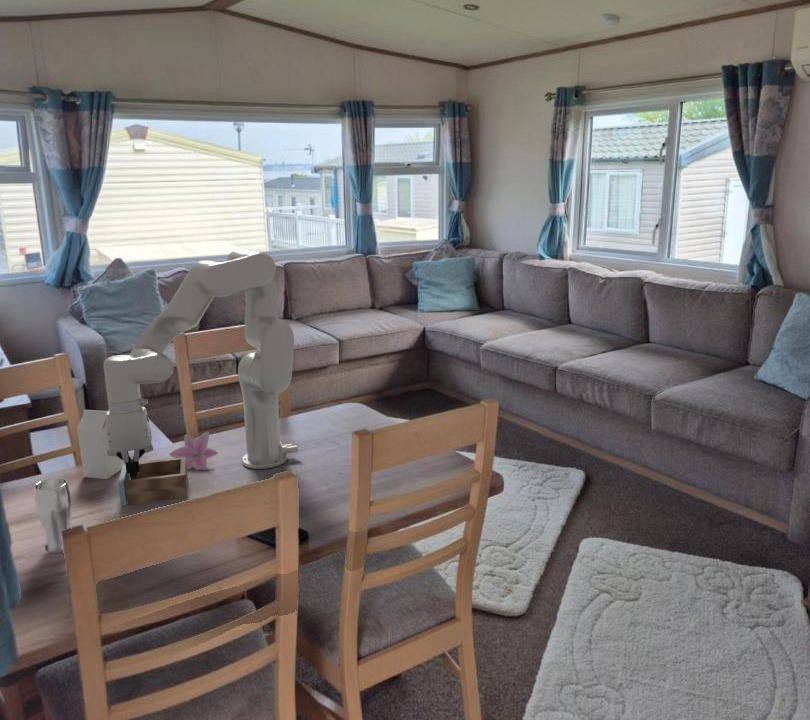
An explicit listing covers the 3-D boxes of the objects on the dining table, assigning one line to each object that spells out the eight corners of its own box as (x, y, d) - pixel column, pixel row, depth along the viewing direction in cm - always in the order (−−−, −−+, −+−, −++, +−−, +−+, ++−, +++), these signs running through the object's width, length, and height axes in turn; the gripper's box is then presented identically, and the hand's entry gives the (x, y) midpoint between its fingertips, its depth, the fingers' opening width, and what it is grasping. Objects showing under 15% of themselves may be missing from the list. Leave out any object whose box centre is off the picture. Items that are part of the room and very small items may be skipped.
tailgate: (130, 485, 180) (127, 463, 178) (126, 505, 169) (123, 482, 167) (125, 485, 180) (122, 464, 178) (121, 505, 169) (118, 483, 167)
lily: (167, 471, 194) (161, 450, 187) (195, 443, 201) (191, 422, 195) (201, 490, 190) (196, 469, 183) (228, 461, 198) (225, 440, 191)
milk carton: (107, 483, 184) (98, 415, 179) (84, 481, 186) (74, 414, 181) (123, 472, 191) (115, 407, 186) (100, 470, 192) (91, 405, 188)
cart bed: (188, 481, 184) (185, 456, 182) (188, 501, 173) (185, 474, 171) (132, 489, 180) (129, 463, 179) (128, 509, 169) (125, 482, 167)
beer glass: (54, 557, 148) (44, 493, 144) (36, 548, 152) (25, 486, 148) (84, 543, 154) (75, 481, 150) (65, 535, 157) (56, 474, 154)
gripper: (158, 398, 174) (165, 465, 179) (94, 404, 170) (103, 473, 175) (156, 407, 167) (164, 477, 172) (90, 413, 163) (99, 485, 168)
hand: (133, 474), depth 174 cm, fingers closed
